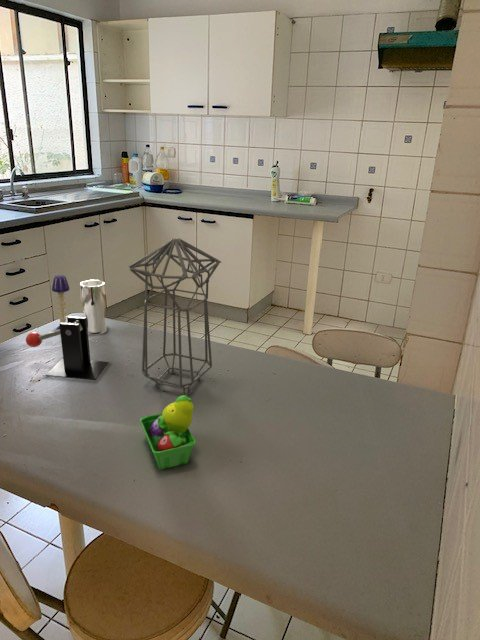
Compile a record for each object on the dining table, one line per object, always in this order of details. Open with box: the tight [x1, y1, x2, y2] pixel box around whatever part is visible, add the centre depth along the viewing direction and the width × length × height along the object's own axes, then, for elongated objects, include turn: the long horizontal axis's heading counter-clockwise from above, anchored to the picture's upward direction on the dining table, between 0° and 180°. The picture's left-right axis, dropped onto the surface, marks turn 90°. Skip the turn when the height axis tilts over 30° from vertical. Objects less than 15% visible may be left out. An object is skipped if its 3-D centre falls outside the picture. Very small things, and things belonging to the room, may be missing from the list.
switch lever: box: [25, 320, 83, 348], centre depth 109 cm, size 14×4×4 cm, turn 84°
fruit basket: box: [139, 394, 196, 470], centre depth 84 cm, size 11×9×11 cm
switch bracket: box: [44, 315, 110, 381], centre depth 110 cm, size 12×9×14 cm
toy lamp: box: [51, 274, 70, 331], centre depth 132 cm, size 5×5×17 cm
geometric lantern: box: [127, 238, 222, 396], centre depth 102 cm, size 16×16×35 cm
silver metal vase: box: [79, 279, 108, 336], centre depth 132 cm, size 7×7×15 cm
